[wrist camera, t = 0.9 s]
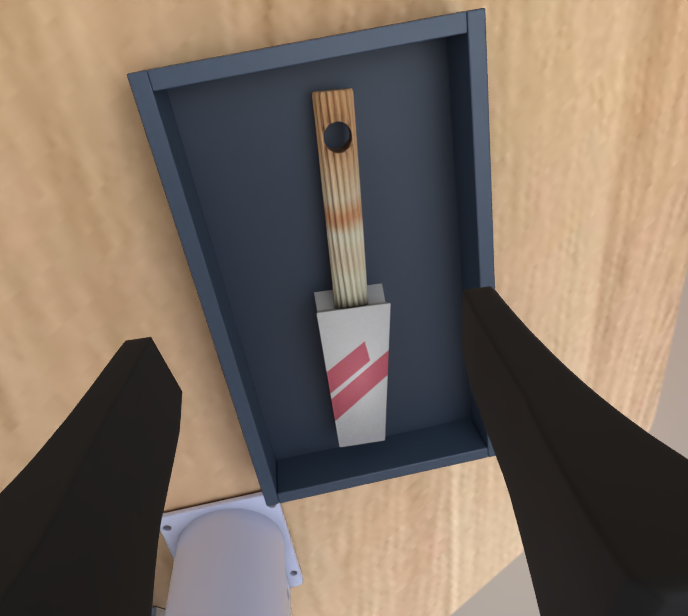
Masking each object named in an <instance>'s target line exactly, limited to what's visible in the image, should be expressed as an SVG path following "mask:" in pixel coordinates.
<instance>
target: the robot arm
mask: <svg viewBox="0 0 688 616" xmlns="http://www.w3.org/2000/svg"><path fill="white" fill-rule="evenodd" d="M462 354H463V358H464V362H465V366H466V370H467V375H468V379H469V382H470V386H471V390H472V393H473V396H474V399H475V401H476V404H477V407H478V409H479V412H480V415H481V418H482V420H483V423H484V426H485V428H486V431H487V434H488V436H489V439H490V442H491V444H492V447H493V450H494V452H495V455H496V457H497V460H498V463H499V465H500V468H501V471H502V473H503V476H504V479H505V482H506V485H507V488H508V491H509V494H510V498H511V502H512V506H513V509H514V513H515V517H516V520H517V524H518V528H519V532H520V535H521V539H522V543H523V547H524V551H525V555H526V559H527V563H528V567H529V571H530V574H531V578H532V582H533V587H534V591H535V594H536V599H537V603H538V607H539V611H540V616H688V459H686V458H685V457H684V456H682V455H681V454H679V453H678V452H676V451H675V450H673V449H671V448H670V447H668V446H667V445H665V444H664V443H662V442H661V441H659V440H658V439H656V438H655V437H653V436H651V435H650V434H649V433H647V432H646V431H645V430H643V429H642V428H641V427H639V426H638V425H637V424H635V423H634V422H632V421H631V420H630V419H628V418H627V417H626V416H624V415H623V414H622V413H620V412H619V411H618V410H617V409H615V408H614V407H613V406H611V405H610V404H609V403H608V402H606V401H605V400H604V399H603V398H601V397H600V396H599V395H598V394H597V393H595V392H594V391H593V390H592V389H591V388H590V387H588V386H587V385H586V384H585V383H584V382H583V381H582V380H580V379H579V378H578V377H577V376H576V375H575V374H574V373H573V372H572V371H570V370H569V369H568V368H567V367H566V366H565V365H564V364H563V363H562V362H561V361H560V360H559V359H558V358H557V357H556V356H555V355H554V354H553V353H552V352H551V351H550V350H549V349H548V348H547V347H546V346H545V345H544V344H543V343H542V342H541V341H540V340H539V339H538V338H537V337H536V336H535V335H534V334H533V333H532V332H531V331H530V330H529V329H528V328H527V327H526V326H525V324H524V323H523V322H522V321H521V320H520V319H519V318H518V317H517V316H516V314H515V313H514V312H513V311H512V310H511V309H510V307H509V306H508V305H507V304H506V303H505V301H504V300H503V299H502V298H501V297H500V295H499V294H498V293H497V292H496V290H495V289H493V288H492V287H491V286H487V287H481V288H474V289H467V290H463V309H462ZM181 403H182V390H181V389H180V387H179V385H178V383H177V382H176V380H175V378H174V376H173V375H172V373H171V371H170V369H169V368H168V366H167V364H166V362H165V361H164V359H163V357H162V355H161V354H160V352H159V350H158V348H157V347H156V345H155V343H154V341H153V340H152V338H151V337H147V338H141V339H134V340H127V341H125V342H124V343H123V345H122V346H121V347H120V348H119V350H118V351H117V352H116V354H115V355H114V356H113V358H112V359H111V360H110V362H109V363H108V364H107V366H106V367H105V368H104V370H103V371H102V372H101V374H100V375H99V377H98V378H97V379H96V381H95V382H94V383H93V385H92V386H91V387H90V389H89V390H88V391H87V392H86V394H85V395H84V396H83V398H82V399H81V400H80V402H79V403H78V404H77V406H76V407H75V408H74V409H73V411H72V412H71V413H70V415H69V416H68V417H67V418H66V420H65V421H64V422H63V423H62V424H61V426H60V427H59V428H58V429H57V430H56V432H55V433H54V434H53V435H52V436H51V438H50V439H49V440H48V441H47V442H46V444H45V445H44V446H43V447H42V448H41V450H40V451H39V452H38V453H37V454H36V456H35V457H34V458H33V459H32V460H31V461H30V462H29V463H28V465H27V466H26V467H25V468H24V469H23V470H22V471H21V472H20V473H19V474H18V475H17V477H16V478H15V479H14V480H13V481H12V482H11V483H10V484H9V485H8V486H7V487H6V488H5V489H4V490H3V491H2V492H1V493H0V616H152V603H153V589H154V577H155V567H156V557H157V547H158V539H159V532H160V531H161V533H162V535H163V538H164V540H165V542H166V544H167V546H168V548H169V550H170V552H171V555H172V557H173V559H174V565H173V570H172V576H171V582H170V587H169V593H168V598H167V604H166V610H165V615H164V616H291V598H290V588H291V587H295V586H299V585H301V584H302V583H303V575H302V572H301V569H300V565H299V562H298V559H297V556H296V552H295V549H294V546H293V543H292V539H291V536H290V533H289V529H288V526H287V523H286V520H285V516H284V513H283V510H282V507H281V503H279V504H276V505H271V506H266V503H265V499H264V496H263V493H262V492H258V493H253V494H249V495H244V496H240V497H235V498H231V499H226V500H222V501H217V502H213V503H208V504H204V505H199V506H194V507H190V508H185V509H181V510H176V511H172V512H167V513H163V511H164V506H165V501H166V496H167V491H168V487H169V482H170V477H171V472H172V467H173V463H174V457H175V452H176V447H177V442H178V437H179V432H180V419H181ZM165 525H169V526H165Z"/></svg>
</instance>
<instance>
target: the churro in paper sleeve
mask: <svg viewBox="0 0 688 616" xmlns="http://www.w3.org/2000/svg"><path fill="white" fill-rule="evenodd" d="M312 99H313V108H314V116H315V125H316V135H317V144H318V154H319V163H320V173H321V183H322V192H323V201H324V210H325V220H326V229H327V238H328V247H329V256H330V265H331V275H332V283H333V290H328V291H321V292H314V296H315V302H316V308H317V318H318V324H319V330H320V336H321V342H322V347H323V353H324V359H325V365H326V371H327V376H328V382H329V388H330V394H331V399H332V405H333V411H334V417H335V423H336V428H337V434H338V440H339V446H340V447H345V446H352V445H358V444H365V443H371V442H377V441H384V440H385V424H386V401H387V377H388V353H389V329H390V305H391V303H387V302H385V298H384V292H383V287H382V283H381V284H373V285H367V280H366V265H365V249H364V234H363V220H362V206H361V193H360V179H359V165H358V151H357V137H356V124H355V110H354V96H353V90H352V88H345V89H332V90H322V91H316V92H313V93H312ZM336 121H339V122H344V123H345V124H346V125H347V127H348V129H349V139H348V142H346V144H345V145H344V146H342V147H340V148H337V149H334V148H330V147H328V146H327V145H326V144H325V143H324V135H323V134H324V131H325V129H326V128H327V127H328V125H329V124H331V123H333V122H336Z"/></svg>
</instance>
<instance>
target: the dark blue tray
mask: <svg viewBox="0 0 688 616" xmlns="http://www.w3.org/2000/svg"><path fill="white" fill-rule="evenodd" d="M127 77H128V80H129V83H130V86H131V89H132V92H133V95H134V98H135V102H136V105H137V108H138V111H139V114H140V117H141V120H142V123H143V126H144V129H145V132H146V135H147V139H148V142H149V145H150V148H151V151H152V154H153V157H154V160H155V163H156V166H157V169H158V172H159V176H160V179H161V182H162V185H163V188H164V191H165V194H166V197H167V200H168V203H169V206H170V209H171V213H172V216H173V219H174V222H175V225H176V228H177V231H178V234H179V237H180V240H181V243H182V247H183V250H184V253H185V256H186V259H187V262H188V265H189V268H190V271H191V274H192V277H193V280H194V284H195V287H196V290H197V293H198V296H199V299H200V302H201V305H202V308H203V311H204V314H205V317H206V321H207V324H208V327H209V330H210V333H211V336H212V339H213V342H214V345H215V348H216V351H217V354H218V358H219V361H220V364H221V367H222V370H223V373H224V376H225V379H226V382H227V385H228V388H229V392H230V395H231V398H232V401H233V404H234V407H235V410H236V413H237V416H238V419H239V422H240V425H241V429H242V432H243V435H244V438H245V441H246V444H247V447H248V450H249V453H250V456H251V459H252V462H253V466H254V469H255V472H256V475H257V478H258V481H259V484H260V487H261V490H262V493H263V496H264V499H265V503H266V506H271V505H276V504H279V503H283V502H288V501H292V500H297V499H301V498H306V497H310V496H315V495H319V494H324V493H328V492H333V491H337V490H342V489H346V488H351V487H355V486H360V485H364V484H369V483H374V482H378V481H383V480H387V479H392V478H396V477H401V476H405V475H410V474H414V473H419V472H423V471H428V470H432V469H437V468H441V467H446V466H450V465H455V464H459V463H464V462H468V461H473V460H477V459H482V458H486V457H491V456H496V455H495V452H494V450H493V447H492V444H491V442H490V439H489V436H488V434H487V431H486V428H485V426H484V423H483V420H482V418H481V415H480V412H479V409H478V407H477V404H476V401H475V399H474V396H473V393H472V390H471V386H470V382H469V379H468V375H467V370H466V366H465V362H464V358H463V354H462V309H463V290H467V289H474V288H481V287H487V286H491V287H492V288H493V289H495V277H494V248H493V219H492V191H491V162H490V133H489V104H488V75H487V47H486V18H485V8H480V9H474V10H468V11H462V12H456V13H451V14H446V15H440V16H435V17H429V18H424V19H418V20H413V21H408V22H402V23H397V24H391V25H386V26H381V27H375V28H370V29H364V30H359V31H353V32H348V33H343V34H337V35H332V36H326V37H321V38H316V39H310V40H305V41H299V42H294V43H288V44H283V45H278V46H272V47H267V48H261V49H256V50H251V51H245V52H240V53H234V54H229V55H223V56H218V57H213V58H207V59H202V60H196V61H191V62H186V63H180V64H175V65H169V66H164V67H158V68H153V69H148V70H142V71H138V72H133V73H128V74H127ZM345 88H352V90H353V96H354V110H355V124H356V137H357V151H358V165H359V179H360V193H361V206H362V220H363V234H364V249H365V265H366V280H367V285H373V284H381V283H382V287H383V292H384V298H385V302H387V303H391V305H390V329H389V353H388V377H387V401H386V424H385V440H384V441H377V442H371V443H365V444H358V445H352V446H345V447H340V446H339V440H338V434H337V428H336V423H335V417H334V411H333V405H332V399H331V394H330V388H329V382H328V376H327V371H326V365H325V359H324V353H323V347H322V342H321V336H320V330H319V324H318V318H317V308H316V302H315V296H314V292H321V291H328V290H333V283H332V275H331V265H330V256H329V247H328V238H327V229H326V220H325V210H324V201H323V192H322V183H321V173H320V163H319V154H318V144H317V135H316V125H315V116H314V108H313V99H312V93H313V92H316V91H322V90H332V89H345ZM323 135H324V143H325V144H326V145H327V146H328V147H330V148H334V149H337V148H340V147H342V146H344V145H345V144H346V142H348V139H349V129H348V127H347V125H346V124H345V123H344V122H339V121H336V122H333V123H331V124H329V125H328V127H327V128H326V129H325V131H324V134H323ZM471 418H472V419H471ZM276 460H277V461H276Z"/></svg>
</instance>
